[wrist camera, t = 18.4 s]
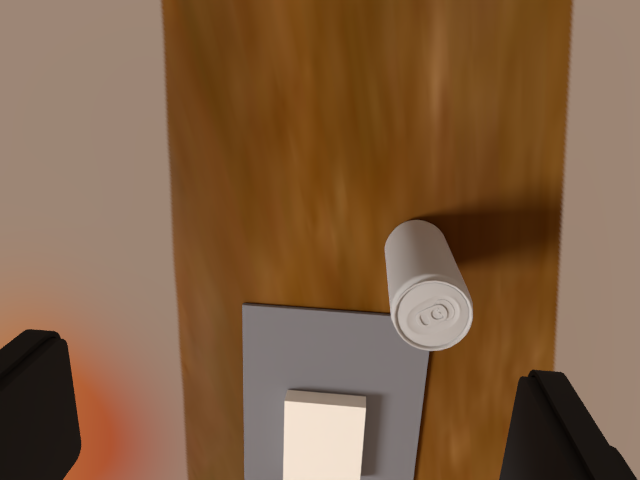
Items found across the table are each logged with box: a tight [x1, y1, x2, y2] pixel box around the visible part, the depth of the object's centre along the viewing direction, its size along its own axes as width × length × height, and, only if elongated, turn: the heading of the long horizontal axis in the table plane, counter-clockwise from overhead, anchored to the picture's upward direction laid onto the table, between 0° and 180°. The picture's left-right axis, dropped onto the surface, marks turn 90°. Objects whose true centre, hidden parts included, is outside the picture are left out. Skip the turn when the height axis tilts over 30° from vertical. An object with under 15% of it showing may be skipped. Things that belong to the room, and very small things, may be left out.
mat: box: [242, 303, 429, 480], centre depth 46 cm, size 20×16×1 cm
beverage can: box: [385, 220, 473, 351], centre depth 35 cm, size 5×5×12 cm
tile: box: [283, 390, 366, 480], centre depth 46 cm, size 2×7×9 cm
